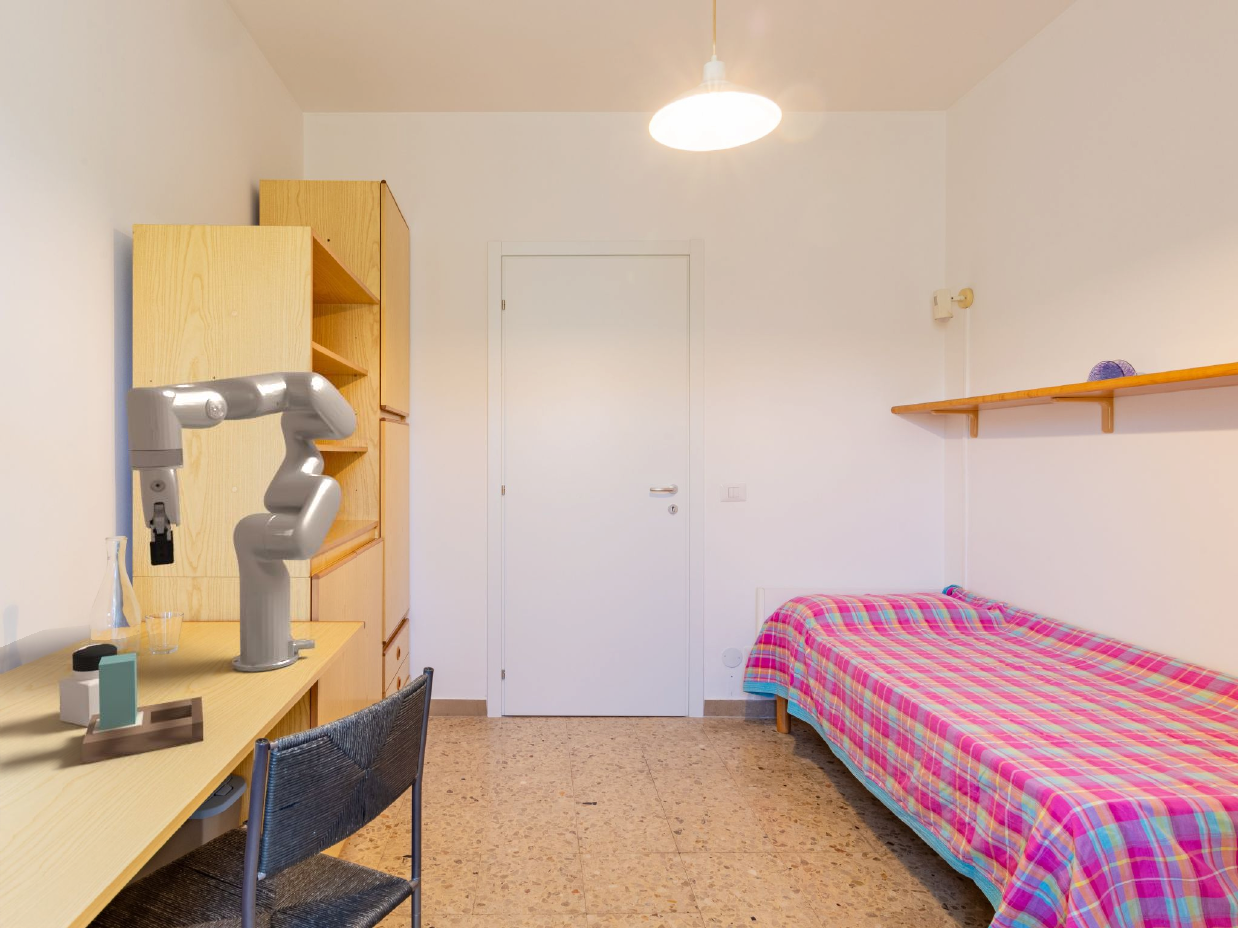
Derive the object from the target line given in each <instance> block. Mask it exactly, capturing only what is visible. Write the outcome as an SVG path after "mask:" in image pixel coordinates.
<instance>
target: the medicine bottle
mask: <svg viewBox="0 0 1238 928" xmlns="http://www.w3.org/2000/svg"><path fill="white" fill-rule="evenodd" d="M114 655H118V646H116V645H114V644H110V643H95V644H90V645H89V644H88V645H86V646H82V647H80V648H78V649H76V650H75V651H74V652H73V653H72V656H71V657H72V660H71V661H72V675H70V676H68V677H64V678H61V679H59V680H58V682H59V685H58V686H59V720H60V722H63V723H67V724H68V723H69V724H74V725H77V726H82V727H87V728H88V725H89V722H90V719H91V716H92V715H95V714H100V712H99V663H100V661H101V658H102V657H106V656H114Z"/></svg>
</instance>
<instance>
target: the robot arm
mask: <svg viewBox="0 0 1238 928" xmlns="http://www.w3.org/2000/svg"><path fill="white" fill-rule="evenodd" d="M125 404H126V418H127V419H126V421H127V436H128V450H129V451H128V452H129V466H130V467H129V468H130V469H129V470H130V471H138V472H139V485H140V496H141V497H140V498H141V508H142V512H143V517H144V523H145V527H146V528H147V529H150V540H151V541H149V552H150V554H149V555H150V565H151V566H153V567H154V566H164V565H172V564H174V562H175V555H174V553H175V548H174V547H175V546H174V530H172V525H175V527H179V526H180V525H181V509H180V508H181V507H180V491H179V490H180V489H179V488H180V487H179V478H178V471H177V470H178V469H182V468H184V452H183V451H184V450H183V435H182V429H189V430H191V429H192V430H194V429H195V430H197V429H199V430H203V429H204V430H205V429H210V428H214V427H216V426H218V425H219V424H221V423H223V421H241V420H252V419H256V418H261V417H264V416H265V417H266V416H271V415H274V414H275V415H276V414H279V413H282V414H281V417H280V427H281V431H282V435H283V440H284V444H285V456H284V458H283V460H282V462H281V464H280V466H279V467H278V469H277V471H276V473H275V475H273V478H272V480H271V481H270V482H269V485H268V487H267V489H266V491H265V493H264V495H263V505H264V508H265V509H266V511H267V512H269V513H267V512H260V513H259V512H258V513H253V514H252V513H251V514H249V515H247V516H244V517H242V519H240V520H239V521H238V522H237V523H236V525H235V527H234V530H233V536H232V537H233V538H232V539H233V540H232V541H233V547H234V551H235V554H236V555H235V556H236V559H237V565H238V574H239V577H238V579H239V651H240V652H239V655H237V656H235V657H233V658H232V660H231V667H232V668H233V670H236V671H239V672H262V671H270V670H271V671H272V670H276V669H281V668H284V667H287V666H289V665H292V664H294V663H296V662H297V661H299V660H298V659H299V656H300V655H299V654H300V653H299V652H300V650H310V649H315V648H316V645H315V638H313V639H312V638H311V639H307V638H301V639H295V638H293V636H292V634H291V633H292V632H291V576H290V572H289V569H288V567H287V565H286V564H285V562H284V561H286V560H287V561H307V560H310V559H311V558H314V557H315V556H316V555H317V554H318V552H319V551H320V550H321V548H322V546H323V544H324V542H325V540H326V538H327V536H328V534H329V532H330V530H331V528H332V526H333V524H334V521H335V520H336V517H337V515H338V513H339V511H340V508H341V504H342V499H343V498H342V489H341V486H340V483H339V482H338V480H336V479H335V478H334V477H332V476H330V475H324V474H322V473H323V471H324V468H325V462H324V459H323V456H322V454H321V452H320V450H319V449H318V447H317V445H316V442H315V440H318V441H319V440H323V441H341V440H342V441H343V440H347V439H348V438H351V437H352V436H353V434H355V431H356V428H357V425H358V424H357V417H356V413H355V410H354V409H353V408H352V405H351V404H350V403H349V402H348V401H347V400H346V398H344V396H342V394H341V393H340V392H339V391H338V389H337V388H336V387H335V385H333V383H332V382H330V381H329V380H328V379H327V378H326V377H324V376H323V375H321V374H319V373H317V372H315V371H314V372H313V371H279V372H271V373H261V374H255V375H246V376H245V375H244V376H239V377H238V376H237V377H228V378H227V377H226V378H220V379H213V380H206V381H205V380H203V381H195V382H187V383H186V382H185V383H175V384H167V385H160V386H153V387H152V386H145V387H143V386H141V387H138V386H136V387H133V388H130V389H128V390H127V392H126V394H125Z"/></svg>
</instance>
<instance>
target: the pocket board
mask: <svg viewBox="0 0 1238 928" xmlns="http://www.w3.org/2000/svg"><path fill="white" fill-rule="evenodd" d="M202 699H203V697H202V696H199V697H198V696H197V697H192V698H191V697H190V698H185V699H179V700H174V701H169V702H168V701H167V702H162V703H156V704H151V705H145V706H144V705H143V706H137V718H136V724H133V725H127V726H122V727H116V728H110V729H105V730H100V714H95V715H92V716H91V719H90V722H89V725H88V727H87V729H86V732H85V736H84V738H83V741H82V744H81V745H82V747H81V748H82V749H81V750H82V751H81V752H82V765H85V764H90V763H91V764H92V763H96V762H100V761H106V760H111V759H115V758H121V757H125V756H131V755H137V754H141V753H145V752H151V751H157V750H161V749H165V748H171V747H177V746H182V745H187V744H193V743H197V742H202V741H203V742H204V712H203V700H202Z"/></svg>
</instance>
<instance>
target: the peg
mask: <svg viewBox="0 0 1238 928" xmlns="http://www.w3.org/2000/svg"><path fill="white" fill-rule="evenodd" d="M137 663H138V661H137V652H131V653H123V654H117V655H114V656H106V657H102V658H101V661H100V663H99V712H100V730H105V729H110V728H116V727H122V726H127V725H133V724H136V718H137V707H138V675H137V674H138V673H137V672H138V671H137V669H138V667H137Z"/></svg>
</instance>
